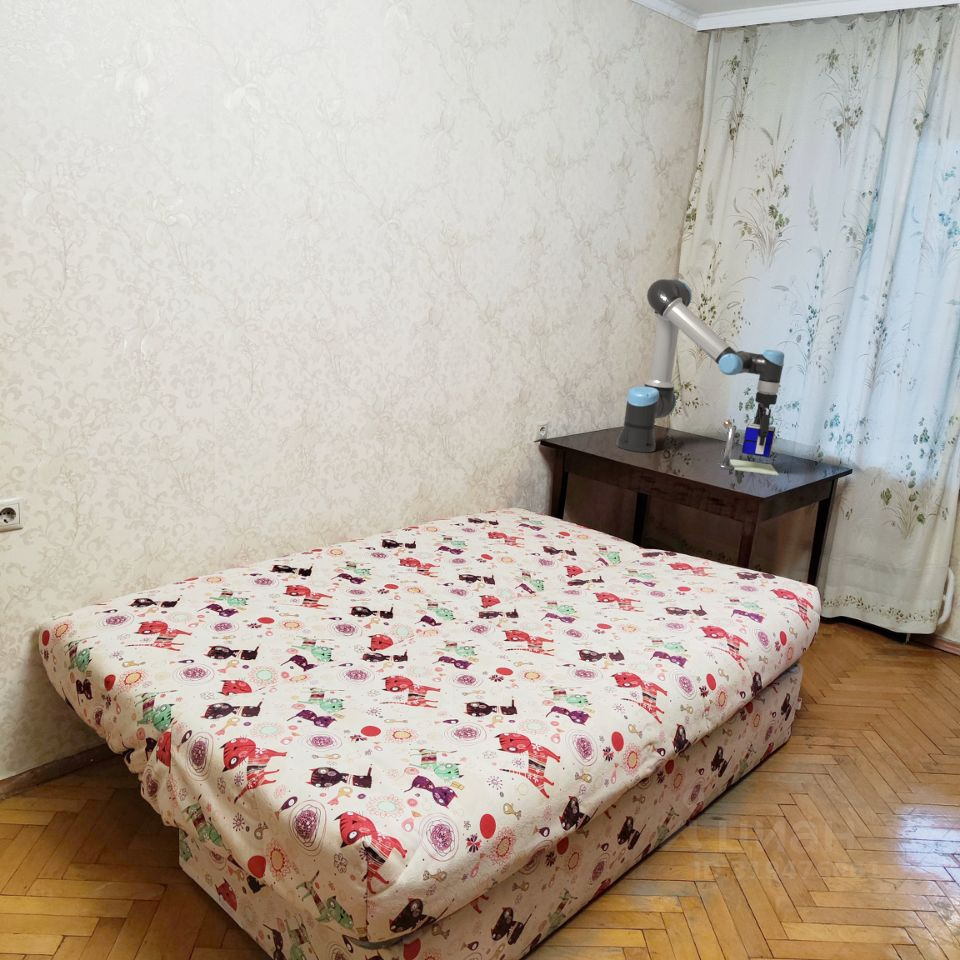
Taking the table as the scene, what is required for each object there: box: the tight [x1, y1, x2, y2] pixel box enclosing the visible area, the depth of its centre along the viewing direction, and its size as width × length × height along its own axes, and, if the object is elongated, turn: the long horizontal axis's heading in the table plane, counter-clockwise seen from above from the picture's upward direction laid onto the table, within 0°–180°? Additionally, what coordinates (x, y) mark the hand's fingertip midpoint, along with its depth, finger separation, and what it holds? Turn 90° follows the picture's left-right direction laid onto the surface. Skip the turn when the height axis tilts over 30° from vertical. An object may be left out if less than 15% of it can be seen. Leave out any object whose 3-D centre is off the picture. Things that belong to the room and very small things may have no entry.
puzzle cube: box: [741, 422, 777, 458], centre depth 333 cm, size 10×10×10 cm
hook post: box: [716, 419, 737, 471], centre depth 335 cm, size 6×17×16 cm, turn 172°
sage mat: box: [729, 458, 779, 477], centre depth 336 cm, size 16×16×1 cm
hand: (756, 450), depth 334 cm, fingers closed on puzzle cube, 11 cm apart
